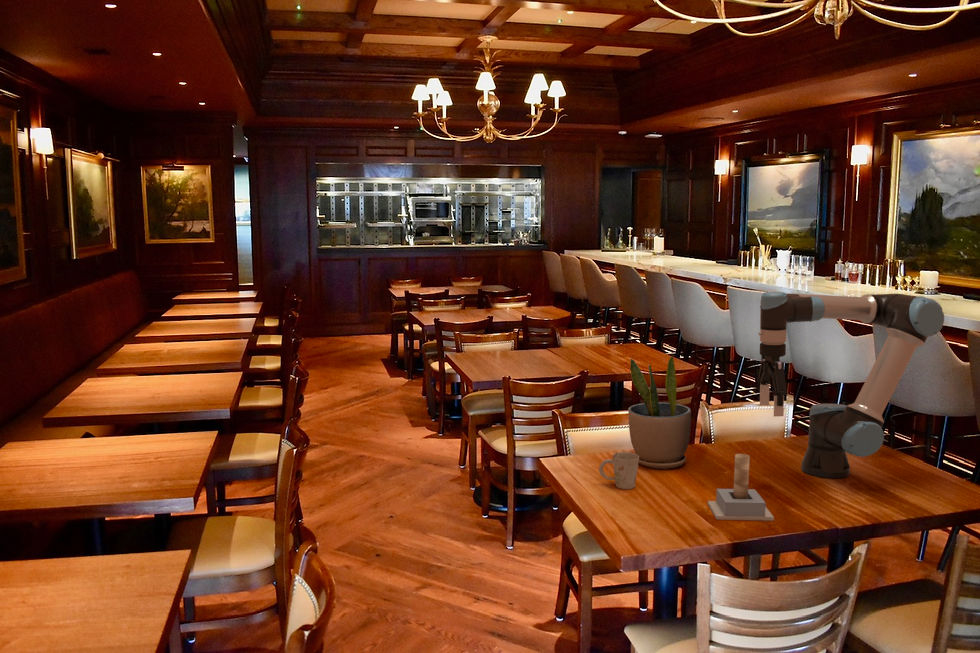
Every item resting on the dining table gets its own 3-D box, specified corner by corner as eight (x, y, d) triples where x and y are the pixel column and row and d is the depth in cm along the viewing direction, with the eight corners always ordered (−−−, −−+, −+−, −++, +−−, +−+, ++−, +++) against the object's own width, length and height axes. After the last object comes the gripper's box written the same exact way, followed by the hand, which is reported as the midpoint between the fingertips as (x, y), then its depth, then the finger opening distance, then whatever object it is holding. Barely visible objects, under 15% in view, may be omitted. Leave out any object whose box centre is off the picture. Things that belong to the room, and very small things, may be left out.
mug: (638, 491, 249) (638, 460, 247) (597, 488, 251) (598, 458, 250) (638, 482, 257) (639, 452, 255) (599, 480, 259) (600, 450, 258)
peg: (745, 506, 233) (747, 453, 231) (748, 511, 229) (751, 458, 227) (731, 506, 233) (733, 453, 231) (734, 511, 229) (737, 457, 227)
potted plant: (614, 461, 278) (616, 349, 272) (653, 449, 292) (656, 342, 286) (663, 476, 262) (667, 357, 256) (701, 463, 276) (706, 350, 270)
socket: (762, 505, 237) (762, 489, 236) (773, 520, 225) (774, 503, 224) (707, 504, 238) (708, 488, 237) (716, 519, 226) (717, 502, 225)
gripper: (748, 336, 254) (747, 400, 258) (773, 350, 230) (772, 421, 233) (772, 335, 254) (770, 400, 257) (799, 349, 230) (797, 420, 233)
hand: (771, 410), depth 245 cm, fingers open, 13 cm apart
